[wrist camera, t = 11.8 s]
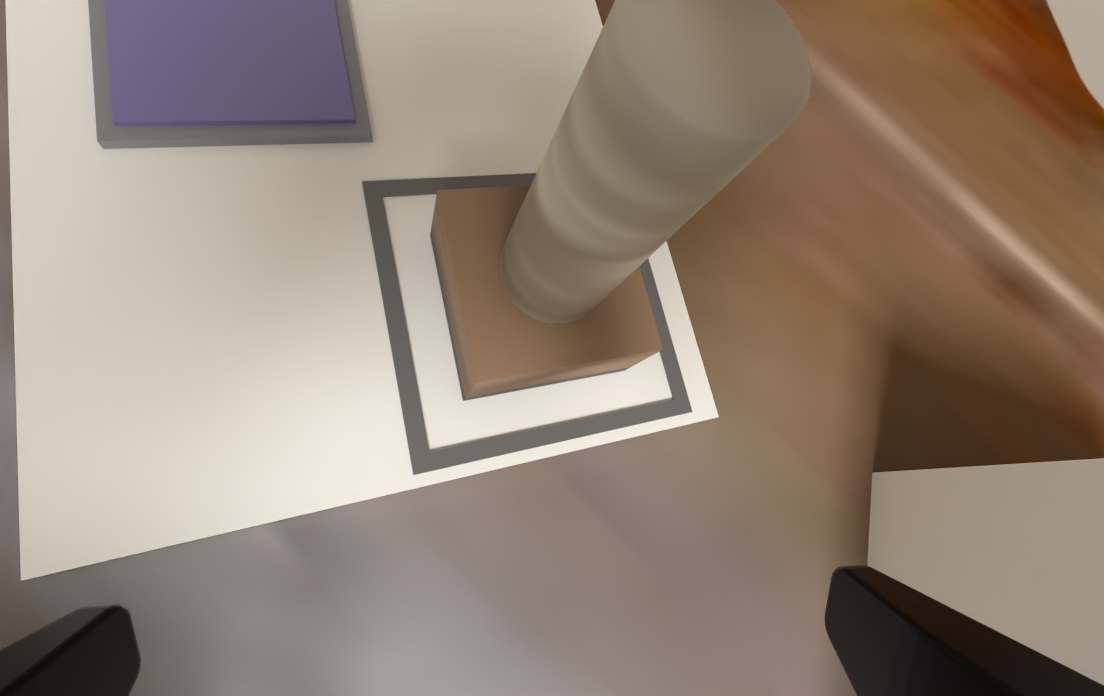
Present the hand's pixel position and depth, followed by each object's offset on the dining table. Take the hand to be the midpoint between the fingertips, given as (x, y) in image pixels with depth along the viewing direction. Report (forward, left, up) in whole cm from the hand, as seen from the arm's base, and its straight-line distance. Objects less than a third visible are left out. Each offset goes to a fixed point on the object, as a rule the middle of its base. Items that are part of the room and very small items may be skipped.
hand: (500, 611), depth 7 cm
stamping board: (+1, +12, -11) cm, 16 cm away
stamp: (+5, +7, -10) cm, 13 cm away
